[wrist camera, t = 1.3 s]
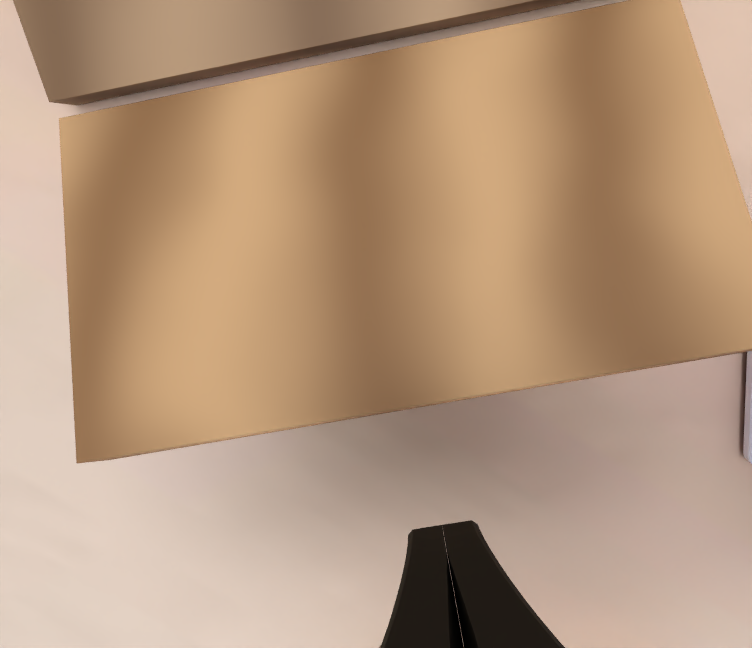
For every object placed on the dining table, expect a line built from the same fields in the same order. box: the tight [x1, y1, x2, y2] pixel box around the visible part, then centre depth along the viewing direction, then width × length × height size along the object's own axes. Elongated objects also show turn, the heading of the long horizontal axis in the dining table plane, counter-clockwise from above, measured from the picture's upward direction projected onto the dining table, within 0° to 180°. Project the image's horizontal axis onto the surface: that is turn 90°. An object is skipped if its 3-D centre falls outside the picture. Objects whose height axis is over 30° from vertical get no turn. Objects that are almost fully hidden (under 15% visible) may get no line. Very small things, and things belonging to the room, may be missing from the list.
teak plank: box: [59, 0, 752, 463], centre depth 15 cm, size 18×10×2 cm, turn 101°
